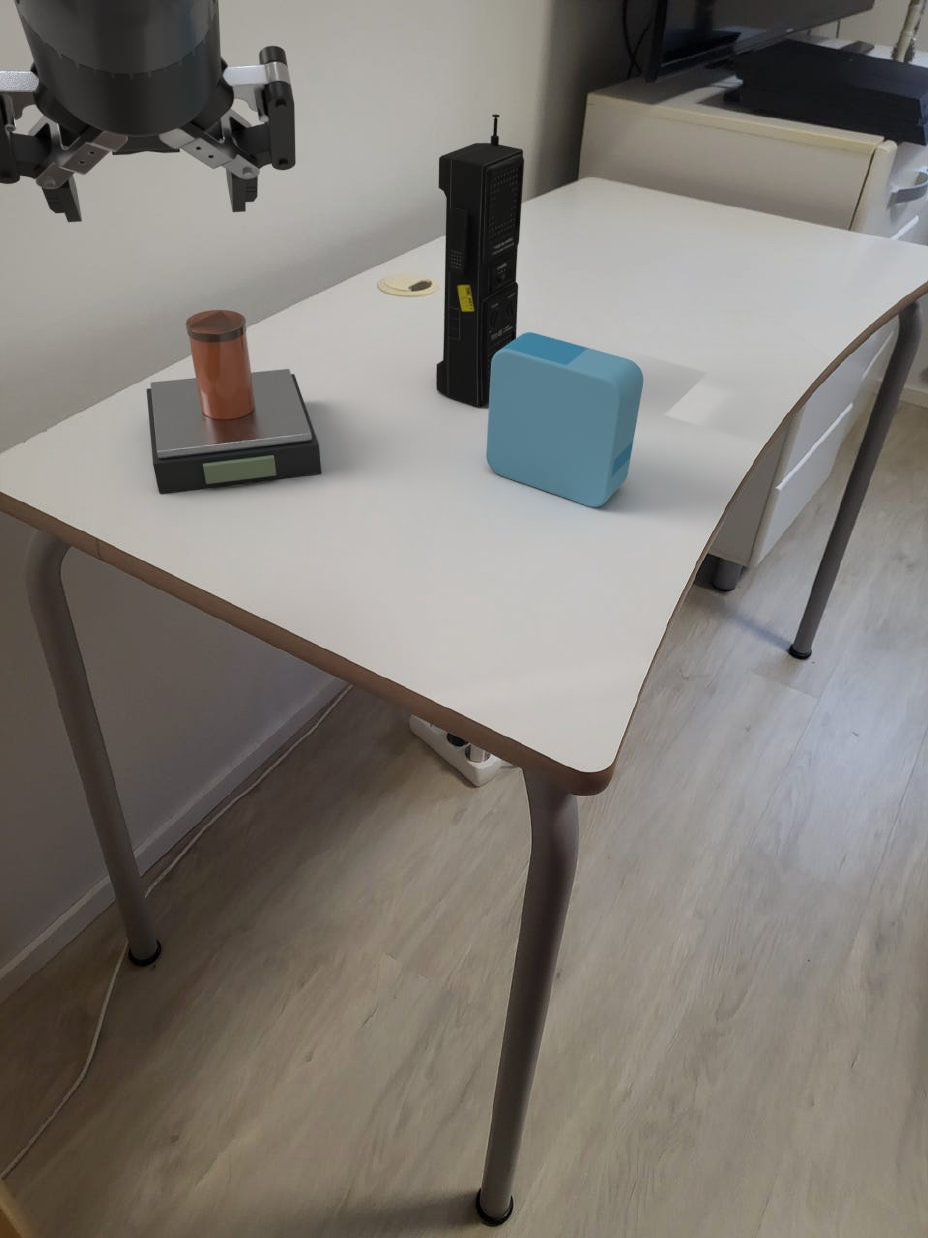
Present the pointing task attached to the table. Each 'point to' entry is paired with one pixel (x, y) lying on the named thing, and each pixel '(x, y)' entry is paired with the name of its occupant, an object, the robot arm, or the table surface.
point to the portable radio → (479, 263)
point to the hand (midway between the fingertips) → (155, 200)
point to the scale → (234, 462)
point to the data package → (562, 417)
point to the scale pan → (198, 434)
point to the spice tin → (221, 363)
